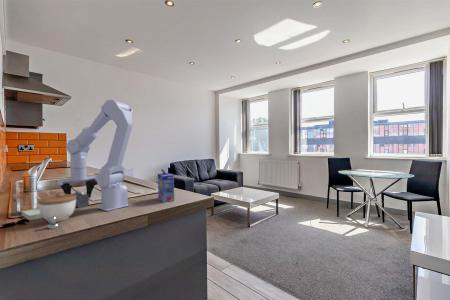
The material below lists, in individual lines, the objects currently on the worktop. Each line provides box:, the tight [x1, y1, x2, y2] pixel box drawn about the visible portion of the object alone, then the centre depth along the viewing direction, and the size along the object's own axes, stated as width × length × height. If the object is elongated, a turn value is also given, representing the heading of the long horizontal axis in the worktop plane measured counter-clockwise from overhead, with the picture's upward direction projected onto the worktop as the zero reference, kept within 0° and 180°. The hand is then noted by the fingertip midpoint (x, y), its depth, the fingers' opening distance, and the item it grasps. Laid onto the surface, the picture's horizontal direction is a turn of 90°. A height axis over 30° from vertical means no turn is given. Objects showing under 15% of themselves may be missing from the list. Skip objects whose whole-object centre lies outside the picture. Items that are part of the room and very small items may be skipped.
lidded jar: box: [37, 192, 77, 223], centre depth 77 cm, size 11×11×9 cm
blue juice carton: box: [157, 169, 175, 203], centre depth 105 cm, size 10×6×14 cm, turn 31°
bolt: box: [46, 216, 60, 230], centre depth 70 cm, size 3×3×3 cm
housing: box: [71, 191, 90, 209], centre depth 95 cm, size 4×8×6 cm, turn 55°
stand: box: [21, 207, 43, 221], centre depth 82 cm, size 7×10×2 cm
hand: (79, 199), depth 95 cm, fingers open, 7 cm apart
